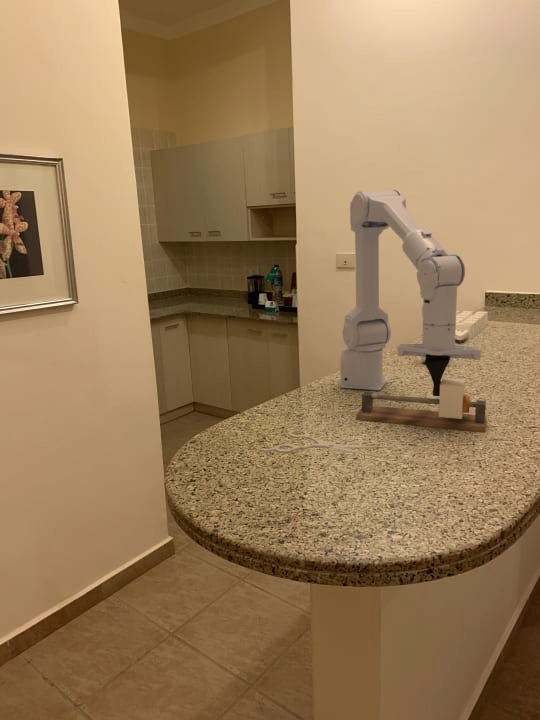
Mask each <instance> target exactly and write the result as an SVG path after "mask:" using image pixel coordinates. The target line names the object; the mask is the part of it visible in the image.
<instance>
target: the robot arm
mask: <svg viewBox="0 0 540 720" xmlns="http://www.w3.org/2000/svg"><path fill="white" fill-rule="evenodd" d="M406 202H407V200H406V197H405V196H404V195H403V194H402V192H401V191H400V190H399V189H393V190H382V191H381V190H380V191H362V190H359V191H357V192H356V193H355V194H354V196H353V198H352V199H351V201H350V202H349V203H350V205H349V207H350V208H349V212H350V213H349V216H350V220H349V221H350V223H349V224H350V230H351V232H354V249H355V252H354V254H355V255H354V256H355V257H354V258H355V264H354V265H355V307H354V308H352V309H351V310H350V311H349V312H348V313H346V315H345V316H344V324H343V329H342V340H343V342H344V344H345V346H346V347H344V348H343V349H342V351H341V354H340V386H339V387H340V388H341V389H342V388H343V389H355V390H370V391H381V390H382V389H383V387H384V386H385V384H386V383H387V382H388V379H385V378H383V370H384V369H383V349H386V345H387V344H388V343H389V341H390V339H391V335H392V331H391V326H390V322H389V314H388V313H387V312H386V311H385V310H383V309H382V308H381V307H380V305H379V304H380V303H379V302H380V301H379V300H380V291H379V290H380V289H379V288H380V287H379V285H380V284H379V283H380V281H379V280H380V279H379V278H380V277H379V273H380V272H379V271H380V270H379V268H380V267H379V266H380V265H379V263H380V261H379V260H380V259H379V256H380V255H379V250H380V249H379V246H380V245H379V243H380V242H379V238H380V235H381V234H382V233H383V231H384V230H388V229H389V228H390V229H391V230H392V231H393V232H394V233H395V234H396V235H397V236H398V238H400V239H401V240H402V242H403V243H402V247H401V249H402V251H403V252H404V254H405V255H406V257H407V258H408V260H409V261H410V262H411V263H412V265H413V266H414V267H415V268H416V270H417V272H416V278H417V282H418V284H419V287H420V289H419V290H420V293H419V294H420V295H419V296H420V298H421V299H422V302H423V304H422V306H423V316H422V340H421V341H422V342H421V343H405V344H404V343H399V344H398V345H397V357H404V356H407V357H421V356H424V357H426V359H425V362H424V364H425V367H426V368H427V370H428V372H429V375H430V378H431V380H432V383H433V387H432V388H433V389H432V396H433V397H440V384H441V381H442V379H443V375H444V373H445V371H446V369H447V366H448V365H449V364H450V361H451V359H468V360H473V361H481V356H482V348H481V347H478V346H477V347H476V346H466V345H460V344H456V339H455V331H456V311H457V301H458V297H457V296H458V287H459V286H461V284H462V283H463V282H464V279H465V277H466V266H465V263H464V261H463V260H462V258H461V256H460V255H458V254H456V253H454V254H453V253H451V252H446V251H445V250H444V248H443V246H441V245H440V243H439V241H437V239H436V238H435V237H434V236H433V233H432V232H431V231H430V230H429V229H425V228H424V229H423V228H421V229H420V228H419V227H418V226H417V225H416V223H415V222H414V219H413V218H412V217H411V215H410V213H409V212H408V210H407V209H406V208H407V203H406Z"/></svg>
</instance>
